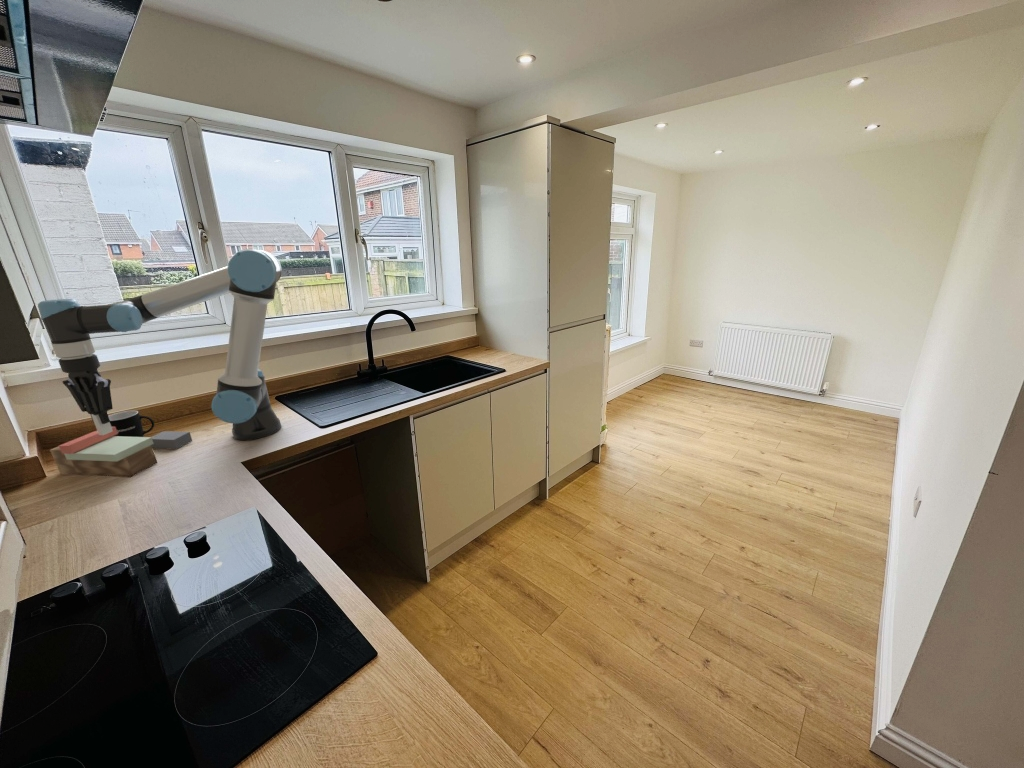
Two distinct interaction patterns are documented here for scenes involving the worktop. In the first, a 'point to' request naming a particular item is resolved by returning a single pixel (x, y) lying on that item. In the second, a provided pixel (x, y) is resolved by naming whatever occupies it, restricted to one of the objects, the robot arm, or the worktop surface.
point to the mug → (129, 424)
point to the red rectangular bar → (85, 441)
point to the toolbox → (106, 464)
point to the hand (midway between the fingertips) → (106, 433)
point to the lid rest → (171, 440)
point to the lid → (111, 449)
